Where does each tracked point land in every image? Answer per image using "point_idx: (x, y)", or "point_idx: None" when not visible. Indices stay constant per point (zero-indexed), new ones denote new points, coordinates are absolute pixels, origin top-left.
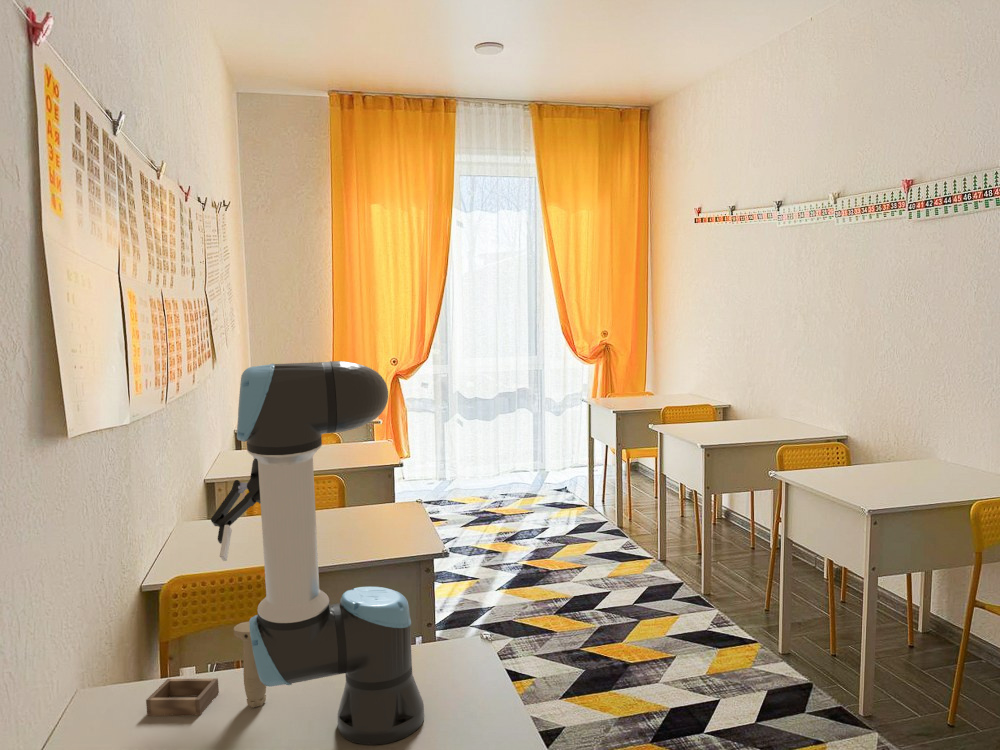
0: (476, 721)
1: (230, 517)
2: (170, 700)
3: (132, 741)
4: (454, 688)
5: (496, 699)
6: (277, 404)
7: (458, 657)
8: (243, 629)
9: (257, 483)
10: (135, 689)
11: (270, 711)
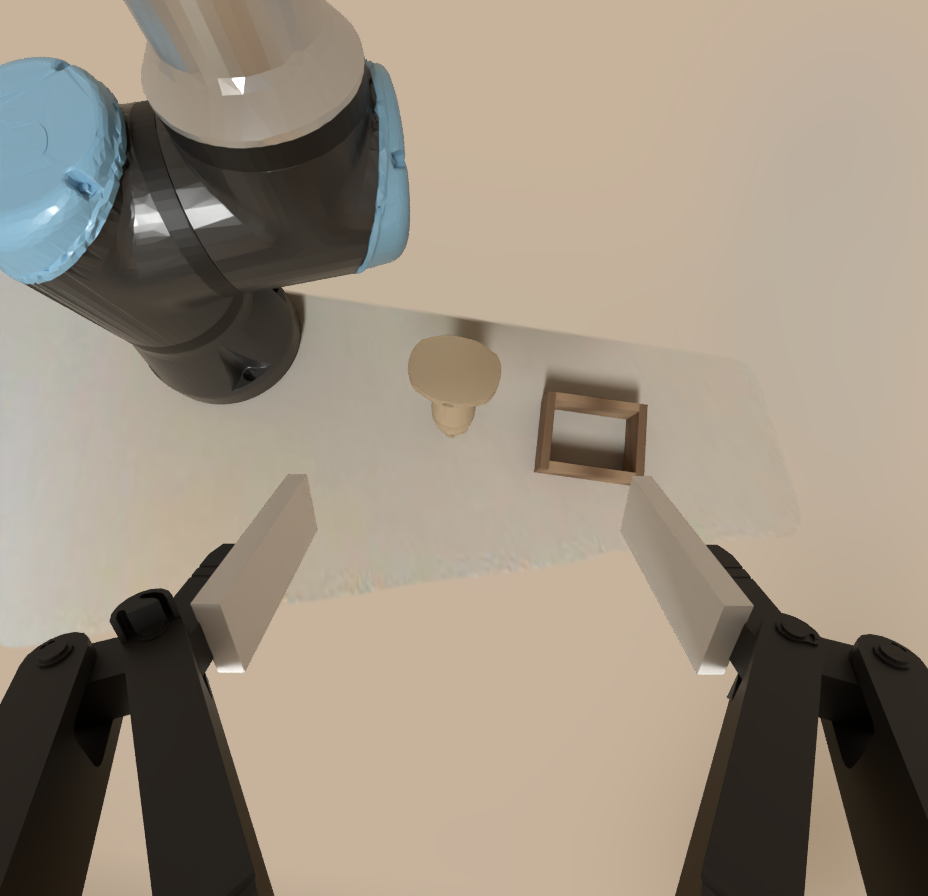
0: (72, 312)
1: (758, 668)
2: (601, 398)
3: (622, 341)
4: (87, 422)
5: (19, 372)
6: None
7: (52, 550)
8: (471, 353)
9: None
10: (703, 513)
11: None
